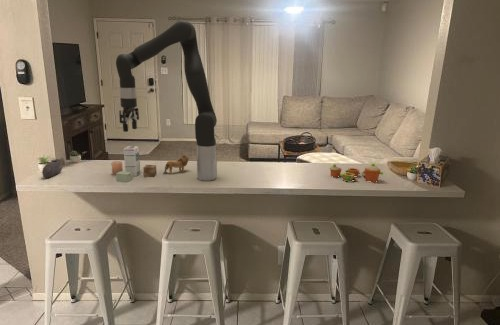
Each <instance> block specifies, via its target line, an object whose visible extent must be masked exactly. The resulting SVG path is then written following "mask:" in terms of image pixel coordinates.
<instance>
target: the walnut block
mask: <svg viewBox="0 0 500 325" xmlns="http://www.w3.org/2000/svg"><path fill="white" fill-rule="evenodd" d="M142 170H143V177H144V178H154V177H156V175H157V164H145V165H144V166H143V169H142Z"/></svg>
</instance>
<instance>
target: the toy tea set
mask: <svg viewBox="0 0 500 325" xmlns="http://www.w3.org/2000/svg"><path fill="white" fill-rule="evenodd" d="M328 169H329V170H330V177H332V176H335V177H334V178H339V177H338V176H340V177H342V181H343V180H344V181H343V182H346V181H348V183H353V182H352V180H354V181H355V182H356V181H358V180H359V179H358V177H354V176H359V175H362V176H363V177H364V176H365V177H364V178H365V182H367V181H371V182H376V181H377V182H378V180H379V176H380V175H381V176H382V175H383V174H384V172H383V171H381V169H380V168H379V167H378V166H377V165H375V163H373V162H372V163H371V164H370V165H367V166H366V167H364V170H363V171H362V172H360V169H358V168H353V167H350V168H348V169H345V172H344V173H342V168H341V167H339V166H337V164H335V163H334V164H333V165H332V166H330V167H329V168H328ZM377 182H376V183H377Z"/></svg>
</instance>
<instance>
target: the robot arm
mask: <svg viewBox="0 0 500 325" xmlns="http://www.w3.org/2000/svg"><path fill="white" fill-rule="evenodd" d="M197 39H198V38H197V32H196V28H195V26H194V24H192V23H191V22H189V21H187V20H184V19H182V20H181V19H180V20H178V21H176V22H175V23H173V24H172V25H171V26H170V27H169V28H167V29H166V30H165V31H163V32H161V33H160V34H159V35H157V36H155V37H153V38H152V39H150V40H148V41H146V42H143V43H142V44H140V45H138V46H137V47H135V48H134V50H133V51H131V52H129V53H121V54H118V55H117V57H116V59H115V66H116V69H117V74H118V79H119V98H120V99H119V100H120V107H121V108H122V109H123V110H119V114H118V115H119V124H122V131H123V132H124V133H127V132H129V124H128V123H129V121H130V120H131V129H133V130H137V128H138V125H137V124H138V123H137V122H138V120H140V113H139V107H138V103H137V100H138V99H137V98H138V97H137V88H136V78H135V76H134V75H133V73H132V70H133V69H135V68H137V67H138V66H140V65H141V64H142V63H144V62H146V61H148V60H150V59H152V58H154V57H156V56H157V55H159V54H160V53H162V51H163V50H165V49H166V48H168V47H170V46H173V45H175V44H177V43H178V44H179V43H180V45H181V49H182V52H183V60H184V61H183V62H184V63H183V64H184V65H183V67H184V75H185V79H186V83H187V87H188V90H189V91H190V93H191V96H192V98H193V100H194V101H195V105H196V109H197V116H196V117H195V121H194V132H195V134H194V135H195V140H196V141H195V142H196V171H197V172H196V176H197V177H196V178H197V180H199V181H205V182H206V181H215V180H216V179H217V177H218V159H217V158H216V157H217V156H216V155H217V154H216V147H217V146H216V145H217V142H216V138H215V127H216V126H217V119H218V118H217V115H216V113H215V110H214V107H213V105H212V101H211V97H210V91H209V86H208V82H207V81H208V80H207V77H206V73H205V68H204V64H203V60H202V58H201V55H200V51H199V47H198V45H199V44H198V40H197Z"/></svg>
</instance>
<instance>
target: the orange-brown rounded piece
mask: <svg viewBox="0 0 500 325" xmlns="http://www.w3.org/2000/svg"><path fill="white" fill-rule="evenodd" d="M120 171H123V172H124V170H123V162H122V161H118V160H117V161H112V162H111V172H112V174H111V175H113V176H116V173H118V172H120Z"/></svg>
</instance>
